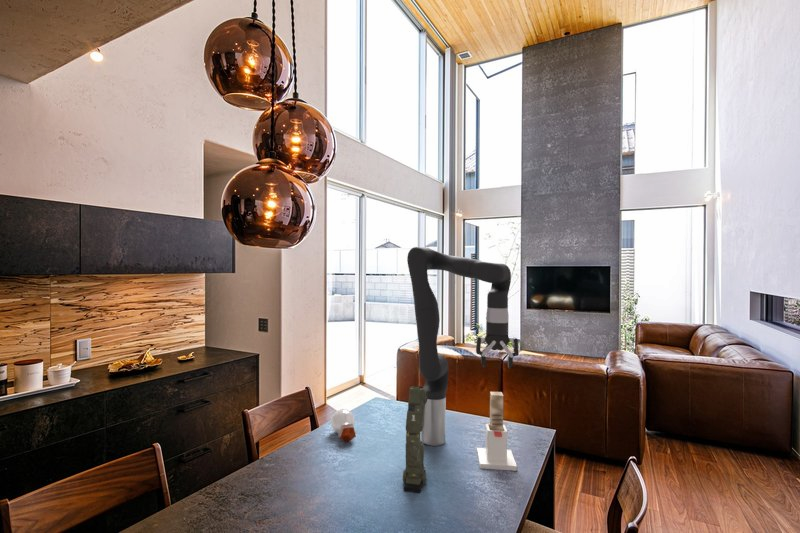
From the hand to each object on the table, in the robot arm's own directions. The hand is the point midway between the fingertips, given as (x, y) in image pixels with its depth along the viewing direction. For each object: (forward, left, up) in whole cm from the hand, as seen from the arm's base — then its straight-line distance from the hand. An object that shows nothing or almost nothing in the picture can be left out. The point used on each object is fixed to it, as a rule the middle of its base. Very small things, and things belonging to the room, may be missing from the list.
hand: (496, 367), depth 137 cm
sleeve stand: (0, 0, -32) cm, 33 cm away
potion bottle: (-57, +13, -33) cm, 67 cm away
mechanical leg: (-27, -17, -33) cm, 46 cm away
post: (0, 0, -31) cm, 31 cm away
